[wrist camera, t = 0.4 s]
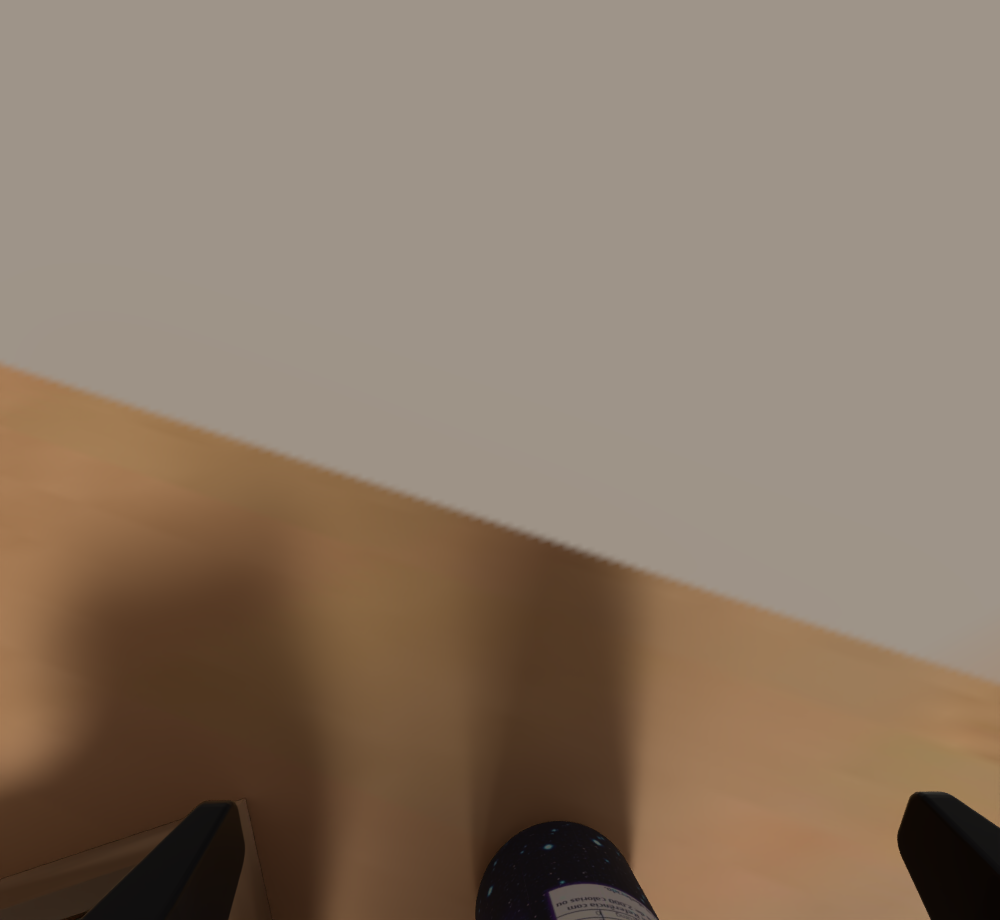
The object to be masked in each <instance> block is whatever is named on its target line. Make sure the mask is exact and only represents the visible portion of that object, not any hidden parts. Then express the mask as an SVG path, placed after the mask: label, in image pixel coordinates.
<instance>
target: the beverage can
mask: <svg viewBox="0 0 1000 920" xmlns="http://www.w3.org/2000/svg"><path fill="white" fill-rule="evenodd" d="M475 919H476V920H659V919H658V917H657V915H656V914H655V912H654V910H653V908H652V906H651V905H650V903H649V901H648V899H647V897H646V896H645V894H644V892H643V890H642V888H641V887H640V885H639V883H638V881H637V880H636V878H635V876H634V874H633V872H632V871H631V869H630V867H629V865H628V863H627V862H626V860H625V858H624V857H623V855H622V854H621V853H620V851H619V850H618V849H617V848H616V847H615V845H614V844H613V843H612V842H610V841H609V840H608V839H607V838H606V837H605V836H603V835H602V834H600V833H599V832H597V831H595V830H594V829H591V828H589V827H587V826H584V825H581V824H578V823H573V822H566V821H553V822H546V823H541V824H537V825H535V826H532V827H530V828H527V829H525V830H523V831H522V832H520V833H518V834H517V835H515V836H514V837H513V838H511V839H510V840H509V841H508V842H507V843H505V844H504V845H503V846H502V847H501V849H500V850H499V851H498V852H497V853H496V855H495V856H494V857H493V859H492V860H491V862H490V864H489V865H488V867H487V869H486V871H485V873H484V875H483V878H482V880H481V883H480V887H479V890H478V895H477V900H476V912H475Z"/></svg>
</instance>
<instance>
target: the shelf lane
mask: <svg viewBox="0 0 1000 920" xmlns="http://www.w3.org/2000/svg"><path fill="white" fill-rule="evenodd" d="M235 803H236V804H237V806H238V809H239V814H240V819H241V824H242V829H243V834H244V839H245V858H244V863H243V868H242V871H241V875H240V879H239V882H238V886H237V890H236V893H235V897H234V901H233V904H232V908H231V912H230V916H229V919H228V920H272V917H271V913H270V908H269V904H268V899H267V894H266V890H265V885H264V881H263V876H262V872H261V867H260V863H259V858H258V854H257V849H256V844H255V840H254V835H253V831H252V826H251V822H250V817H249V813H248V808H247V804H246V799H245V798H244V799H241V800H238V801H235ZM182 820H183V819H181V820H178V821H175V822H172V823H169V824H166V825H163V826H160V827H157V828H154V829H151V830H148V831H145V832H142V833H139V834H136V835H133V836H130V837H127V838H124V839H121V840H118V841H115V842H112V843H109V844H106V845H103V846H100V847H97V848H94V849H91V850H88V851H85V852H82V853H79V854H75V855H72V856H69V857H66V858H63V859H60V860H57V861H54V862H51V863H48V864H45V865H42V866H39V867H36V868H33V869H30V870H27V871H24V872H21V873H18V874H15V875H12V876H9V877H6V878H3V879H0V920H62V919H65V918H68V917H71V916H73V915H76V914H79V913H82V912H85V911H88V910H90V909H91V908H92V907H93V906H94V905H95V904H96V903H97V902H98V901H99V900H100V899H102V898H103V897H104V896H105V895H106V894H107V893H108V892H109V891H110V890H111V889H112V888H113V887H114V886H115V885H116V884H117V883H118V882H119V881H120V880H121V879H122V878H123V877H124V876H125V875H126V874H127V873H128V872H129V871H130V870H132V869H133V868H134V867H135V866H136V865H137V864H138V863H139V862H140V861H141V860H142V859H143V858H144V857H145V856H146V855H147V854H148V853H149V852H150V851H151V850H152V849H153V848H154V847H155V846H156V845H157V844H158V843H159V842H160V841H162V840H163V839H164V838H165V837H166V836H167V835H168V834H169V833H170V832H171V831H172V830H173V829H174V828H175V827H176V826H177V825H178V824H179V823H180V822H181V821H182Z"/></svg>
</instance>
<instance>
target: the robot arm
mask: <svg viewBox="0 0 1000 920" xmlns="http://www.w3.org/2000/svg"><path fill="white" fill-rule="evenodd" d="M897 841H898V847H899V851H900V854H901V856H902V859H903V861H904V863H905V865H906V867H907V869H908V872H909V874H910V876H911V878H912V880H913V882H914V884H915V887H916V889H917V891H918V893H919V895H920V897H921V900H922V902H923V904H924V906H925V908H926V910H927V912H928V915H929V917H930V919H931V920H1000V828H999V827H998V826H996V825H995V824H993V823H992V822H990V821H989V820H988V819H986V818H985V817H983V816H982V815H980V814H979V813H977V812H976V811H974V810H973V809H971V808H970V807H968V806H967V805H966V804H964V803H963V802H961V801H960V800H958V799H957V798H955V797H953V796H952V795H950V794H948V793H945V792H915V793H914V794H912V795H911V796H910V798H909V801H908V804H907V807H906V810H905V812H904V815H903V818H902V821H901V824H900V827H899V830H898V834H897ZM244 858H245V839H244V834H243V829H242V824H241V819H240V814H239V809H238V806H237V804H236V803H235V802H234V801H231V800H209V801H205V802H203V803H201V804H199V805H198V806H197V807H196V808H195V809H194V810H193V811H192V812H190V813H189V814H188V815H187V816H186V817H185V818H184V819H183V820H182V821H181V822H180V823H179V824H178V825H177V826H176V827H175V828H174V829H173V830H172V831H171V832H170V833H169V834H168V835H167V836H166V837H165V838H164V839H163V840H162V841H160V842H159V843H158V844H157V845H156V846H155V847H154V848H153V849H152V850H151V851H150V852H149V853H148V854H147V855H146V856H145V857H144V858H143V859H142V860H141V861H140V862H139V863H138V864H137V865H136V866H135V867H134V868H133V869H132V870H130V871H129V872H128V873H127V874H126V875H125V876H124V877H123V878H122V879H121V880H120V881H119V882H118V883H117V884H116V885H115V886H114V887H113V888H112V889H111V890H110V891H109V892H108V893H107V894H106V895H105V896H104V897H103V898H102V899H100V900H99V901H98V902H97V903H96V904H95V905H94V906H93V907H92V908H91V909H90V910H89V911H88V912H87V913H86V914H85V915H84V916H83V917H82V918H81V919H80V920H228V919H229V916H230V912H231V908H232V904H233V901H234V897H235V893H236V890H237V886H238V882H239V879H240V875H241V871H242V868H243V863H244Z"/></svg>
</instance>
